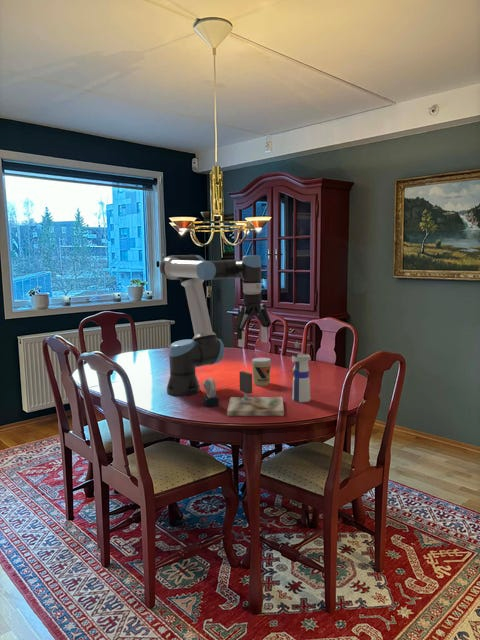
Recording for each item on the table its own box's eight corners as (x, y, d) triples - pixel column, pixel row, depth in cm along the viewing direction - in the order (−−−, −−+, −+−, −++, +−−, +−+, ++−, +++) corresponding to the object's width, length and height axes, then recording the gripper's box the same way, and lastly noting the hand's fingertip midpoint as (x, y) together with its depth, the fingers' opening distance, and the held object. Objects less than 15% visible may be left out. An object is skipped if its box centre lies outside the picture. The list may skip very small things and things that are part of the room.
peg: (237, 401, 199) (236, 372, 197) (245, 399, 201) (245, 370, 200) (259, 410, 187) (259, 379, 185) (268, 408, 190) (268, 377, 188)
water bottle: (286, 399, 207) (286, 342, 204) (299, 395, 213) (299, 339, 210) (302, 403, 202) (302, 344, 198) (314, 399, 208) (314, 341, 204)
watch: (214, 401, 207) (213, 376, 206) (220, 406, 200) (219, 380, 198) (201, 402, 205) (201, 377, 204) (207, 408, 198) (206, 382, 196)
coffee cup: (255, 387, 228) (255, 362, 227) (249, 382, 237) (249, 358, 236) (274, 385, 231) (273, 360, 229) (267, 380, 240) (267, 356, 238)
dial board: (227, 415, 188) (227, 410, 188) (230, 401, 206) (230, 396, 206) (283, 415, 187) (283, 410, 187) (282, 401, 205) (282, 396, 205)
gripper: (236, 295, 186) (237, 350, 189) (279, 291, 203) (279, 341, 206) (223, 295, 191) (224, 347, 194) (266, 291, 208) (266, 339, 211)
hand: (252, 344), depth 200 cm, fingers open, 13 cm apart
